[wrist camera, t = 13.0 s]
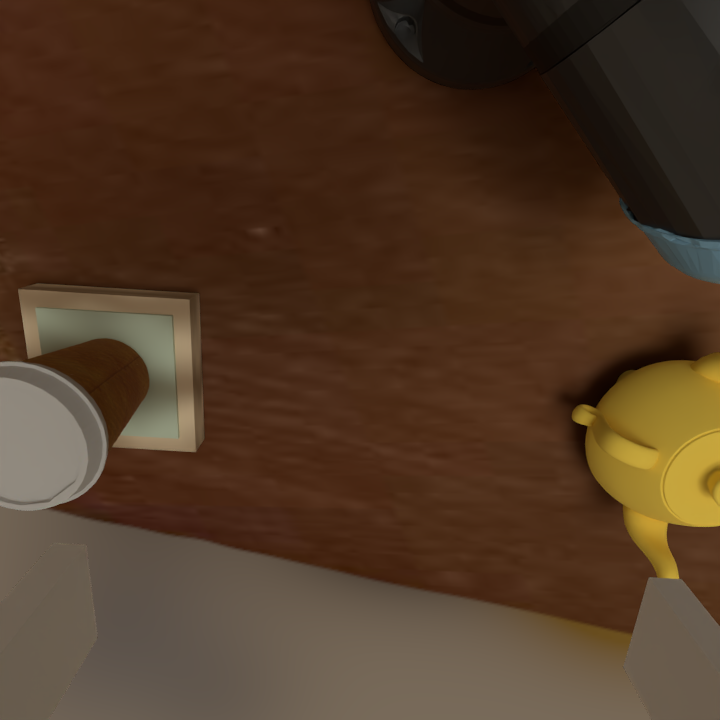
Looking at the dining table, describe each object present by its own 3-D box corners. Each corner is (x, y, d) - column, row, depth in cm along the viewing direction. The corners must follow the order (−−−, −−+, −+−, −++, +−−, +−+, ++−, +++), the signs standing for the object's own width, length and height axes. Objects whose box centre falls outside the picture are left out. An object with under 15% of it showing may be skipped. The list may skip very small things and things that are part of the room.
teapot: (602, 284, 42) (686, 318, 31) (772, 330, 43) (912, 379, 32) (515, 494, 48) (559, 585, 37) (666, 530, 49) (752, 629, 38)
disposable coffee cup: (70, 436, 43) (-36, 525, 32) (33, 325, 40) (-98, 379, 29) (182, 423, 43) (115, 509, 31) (153, 310, 40) (68, 359, 28)
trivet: (37, 283, 42) (15, 289, 39) (199, 293, 42) (188, 300, 40) (57, 429, 46) (38, 444, 44) (204, 438, 46) (194, 453, 44)
